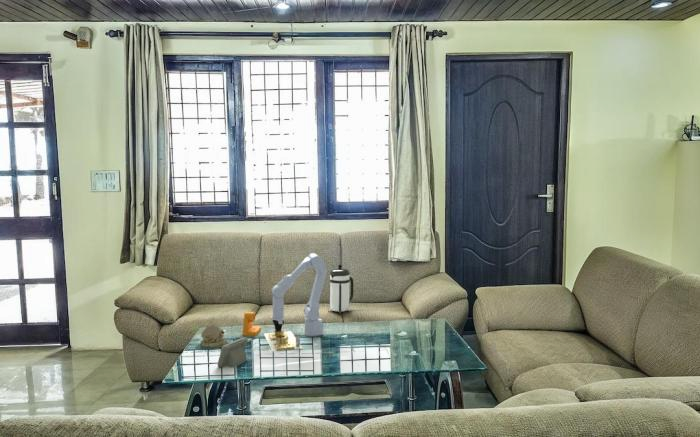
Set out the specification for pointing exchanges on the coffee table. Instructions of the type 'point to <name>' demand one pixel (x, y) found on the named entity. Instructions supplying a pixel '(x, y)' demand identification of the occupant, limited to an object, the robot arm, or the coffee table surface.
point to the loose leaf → (276, 334)
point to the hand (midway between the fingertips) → (278, 333)
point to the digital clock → (233, 353)
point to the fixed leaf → (283, 343)
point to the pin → (297, 339)
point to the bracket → (250, 325)
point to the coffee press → (340, 289)
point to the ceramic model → (213, 337)
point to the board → (290, 339)
